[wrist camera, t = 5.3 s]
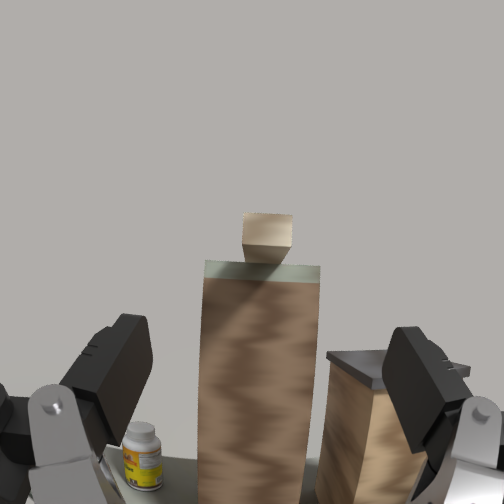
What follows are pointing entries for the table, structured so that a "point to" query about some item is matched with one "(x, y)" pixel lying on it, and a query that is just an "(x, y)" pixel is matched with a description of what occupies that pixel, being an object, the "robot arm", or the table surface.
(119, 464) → the table surface
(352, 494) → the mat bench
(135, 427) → the supplement bottle
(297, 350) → the walnut stand
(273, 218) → the slat
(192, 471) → the table surface
